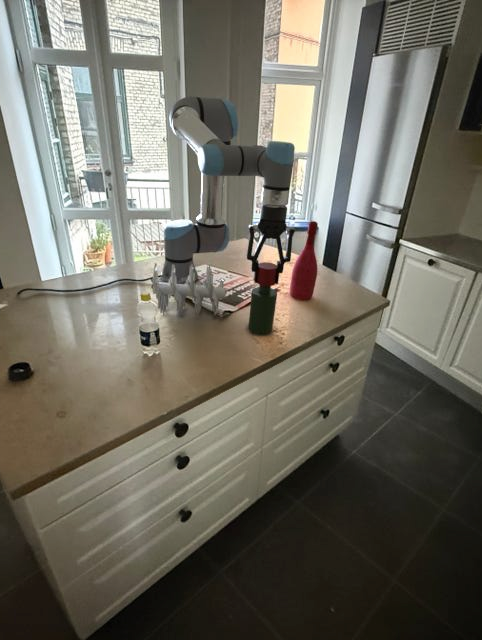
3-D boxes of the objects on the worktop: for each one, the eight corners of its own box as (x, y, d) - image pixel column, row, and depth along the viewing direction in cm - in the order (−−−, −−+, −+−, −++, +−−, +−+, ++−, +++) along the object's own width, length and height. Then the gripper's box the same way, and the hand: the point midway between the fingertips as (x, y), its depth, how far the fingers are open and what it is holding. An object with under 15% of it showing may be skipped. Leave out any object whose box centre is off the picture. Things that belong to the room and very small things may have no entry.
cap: (257, 285, 115) (258, 268, 112) (255, 278, 120) (257, 261, 117) (276, 286, 115) (278, 269, 112) (274, 279, 120) (276, 262, 117)
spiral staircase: (222, 328, 134) (152, 324, 131) (222, 291, 143) (156, 286, 140) (228, 296, 119) (148, 290, 115) (227, 256, 127) (153, 249, 124)
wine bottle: (311, 292, 156) (325, 219, 139) (313, 302, 148) (328, 226, 131) (288, 290, 157) (299, 217, 140) (288, 300, 149) (300, 223, 132)
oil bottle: (249, 335, 124) (255, 272, 111) (247, 323, 131) (253, 262, 118) (273, 336, 124) (281, 273, 112) (270, 324, 131) (278, 264, 119)
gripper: (241, 205, 101) (236, 285, 114) (309, 209, 102) (297, 288, 115) (240, 199, 107) (235, 275, 120) (305, 204, 108) (293, 278, 121)
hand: (265, 281), depth 118 cm, fingers closed on cap, 6 cm apart
